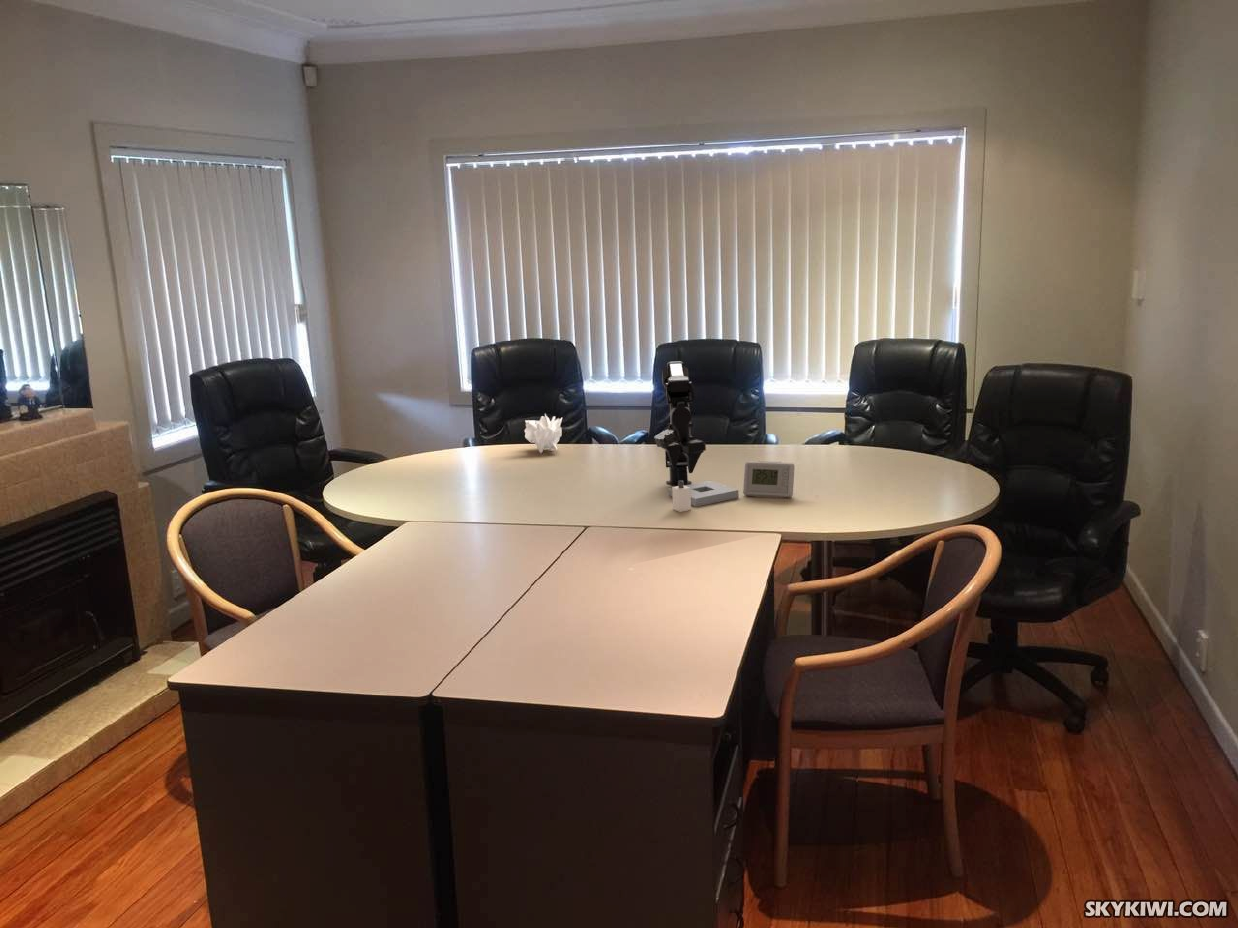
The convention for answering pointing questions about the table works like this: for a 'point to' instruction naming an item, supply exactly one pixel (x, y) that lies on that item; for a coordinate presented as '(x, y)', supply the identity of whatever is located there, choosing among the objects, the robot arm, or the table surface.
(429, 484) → the table surface
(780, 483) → the digital clock
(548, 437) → the crumpled paper
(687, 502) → the plug
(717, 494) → the socket plate
